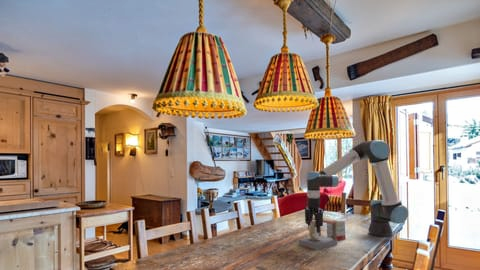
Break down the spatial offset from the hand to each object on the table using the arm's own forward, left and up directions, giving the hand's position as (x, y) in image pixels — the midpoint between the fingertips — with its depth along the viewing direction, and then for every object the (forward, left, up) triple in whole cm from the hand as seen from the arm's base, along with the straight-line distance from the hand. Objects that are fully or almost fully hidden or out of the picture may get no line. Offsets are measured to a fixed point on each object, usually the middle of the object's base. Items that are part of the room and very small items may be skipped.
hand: (314, 237), depth 181 cm
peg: (0, 0, -5) cm, 5 cm away
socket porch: (-3, 0, -5) cm, 6 cm away
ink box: (-24, -3, -5) cm, 25 cm away
